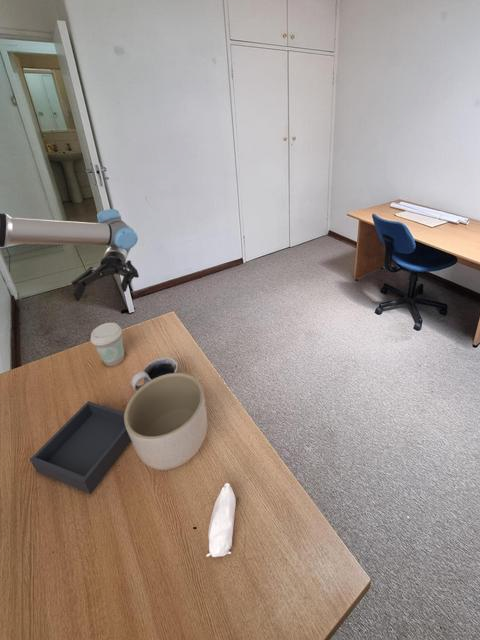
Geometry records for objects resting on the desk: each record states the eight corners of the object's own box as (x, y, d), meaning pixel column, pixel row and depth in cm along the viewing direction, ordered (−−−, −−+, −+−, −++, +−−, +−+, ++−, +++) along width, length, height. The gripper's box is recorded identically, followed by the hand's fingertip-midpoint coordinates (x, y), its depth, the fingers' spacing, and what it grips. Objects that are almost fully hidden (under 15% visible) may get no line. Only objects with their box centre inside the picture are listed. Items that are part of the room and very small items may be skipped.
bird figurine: (211, 508, 70) (204, 563, 60) (214, 482, 68) (208, 533, 59) (234, 508, 70) (231, 562, 61) (238, 482, 69) (235, 533, 60)
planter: (225, 435, 83) (218, 393, 76) (167, 498, 70) (153, 455, 64) (182, 401, 92) (173, 362, 85) (124, 452, 79) (108, 411, 72)
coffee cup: (93, 366, 103) (82, 337, 98) (113, 347, 110) (103, 319, 105) (116, 371, 101) (106, 342, 96) (134, 351, 108) (126, 323, 103)
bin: (36, 472, 75) (29, 459, 73) (93, 412, 88) (88, 400, 86) (90, 494, 71) (84, 481, 69) (140, 428, 84) (136, 416, 82)
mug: (188, 381, 98) (182, 356, 93) (153, 415, 88) (145, 389, 83) (165, 369, 102) (159, 345, 98) (130, 400, 92) (121, 375, 88)
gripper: (152, 261, 126) (145, 293, 108) (81, 274, 120) (60, 310, 102) (147, 245, 122) (138, 275, 104) (73, 257, 117) (51, 291, 99)
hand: (100, 292), depth 103 cm, fingers open, 13 cm apart
